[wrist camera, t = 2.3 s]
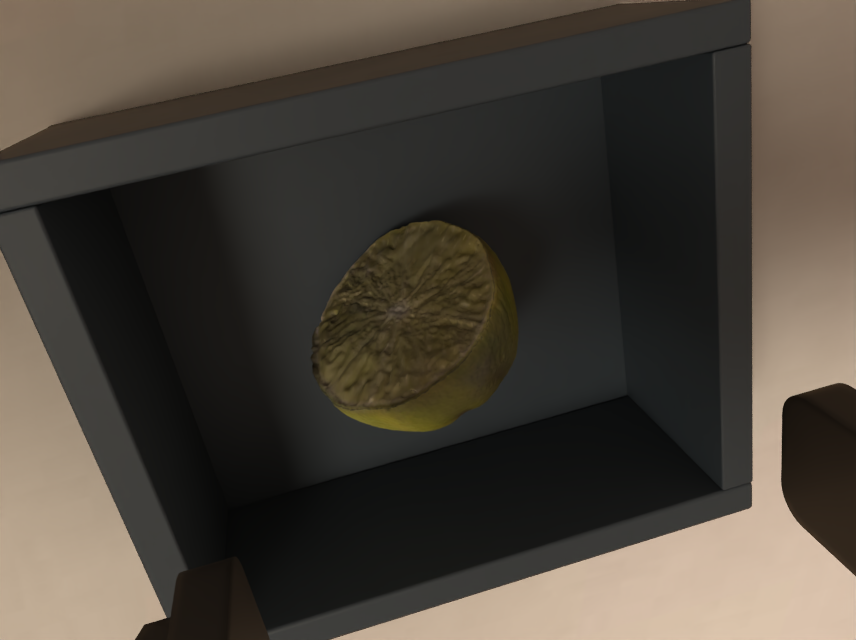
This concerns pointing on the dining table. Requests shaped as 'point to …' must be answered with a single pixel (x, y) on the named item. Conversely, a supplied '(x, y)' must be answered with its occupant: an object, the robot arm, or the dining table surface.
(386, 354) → the lime
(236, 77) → the dining table surface
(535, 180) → the bin
